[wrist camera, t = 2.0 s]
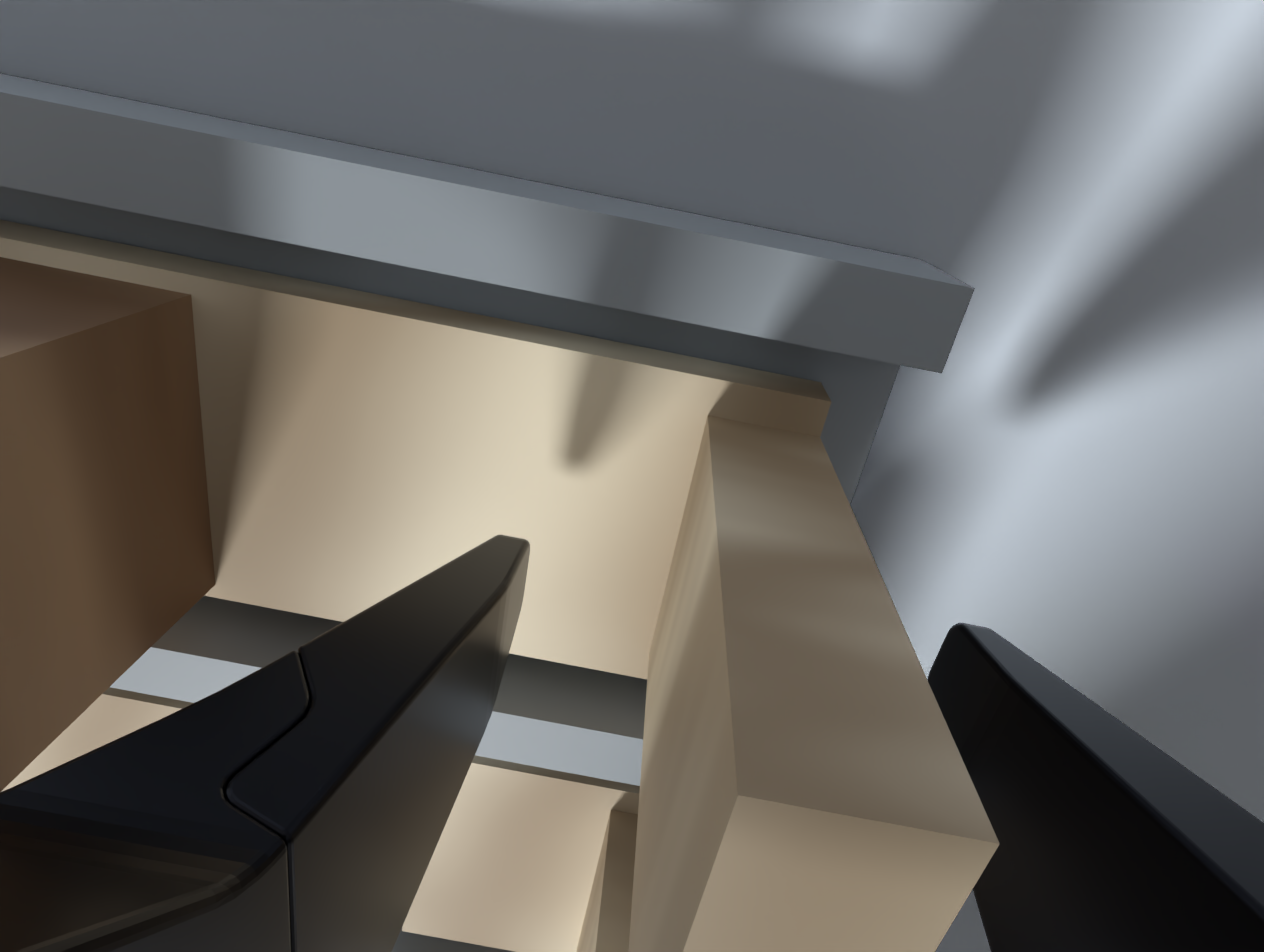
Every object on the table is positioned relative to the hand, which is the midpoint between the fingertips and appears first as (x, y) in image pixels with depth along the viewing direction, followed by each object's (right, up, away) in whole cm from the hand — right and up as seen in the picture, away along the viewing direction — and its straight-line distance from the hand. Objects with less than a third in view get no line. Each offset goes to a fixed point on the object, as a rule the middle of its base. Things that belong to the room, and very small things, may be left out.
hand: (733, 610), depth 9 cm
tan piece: (-5, +2, +2) cm, 6 cm away
